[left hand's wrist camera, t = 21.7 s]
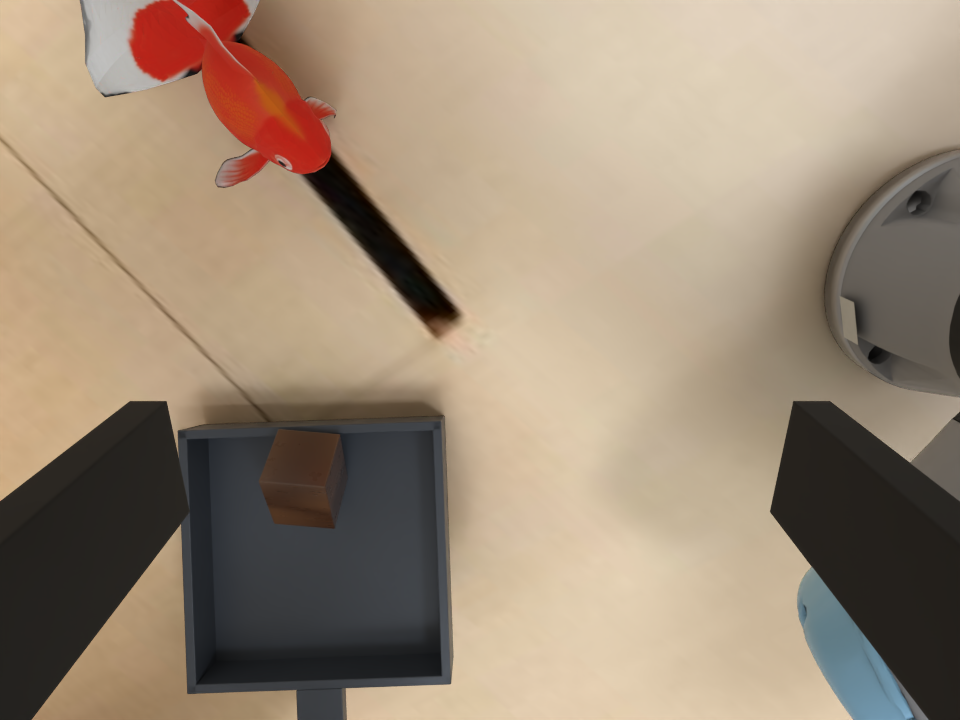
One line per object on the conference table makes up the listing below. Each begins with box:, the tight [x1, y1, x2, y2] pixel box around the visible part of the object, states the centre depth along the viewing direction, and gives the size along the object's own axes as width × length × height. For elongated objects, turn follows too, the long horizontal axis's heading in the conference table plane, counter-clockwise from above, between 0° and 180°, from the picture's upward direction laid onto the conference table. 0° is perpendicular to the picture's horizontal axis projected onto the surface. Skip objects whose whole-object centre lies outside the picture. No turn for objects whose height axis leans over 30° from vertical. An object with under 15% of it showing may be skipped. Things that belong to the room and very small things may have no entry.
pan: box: [178, 416, 453, 720], centre depth 38 cm, size 17×29×9 cm, turn 2°
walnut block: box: [259, 429, 348, 529], centre depth 38 cm, size 4×4×5 cm
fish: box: [80, 0, 336, 188], centre depth 30 cm, size 11×16×10 cm
